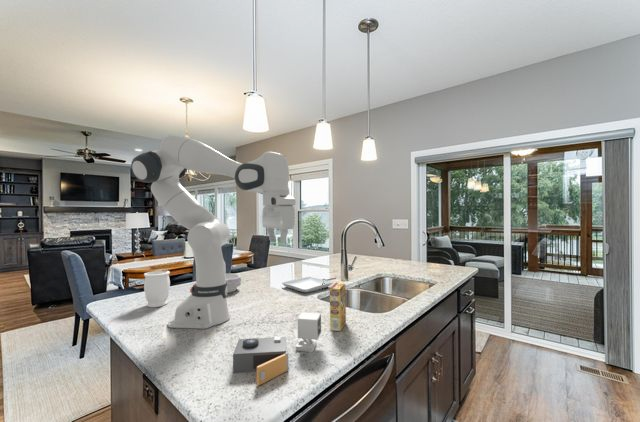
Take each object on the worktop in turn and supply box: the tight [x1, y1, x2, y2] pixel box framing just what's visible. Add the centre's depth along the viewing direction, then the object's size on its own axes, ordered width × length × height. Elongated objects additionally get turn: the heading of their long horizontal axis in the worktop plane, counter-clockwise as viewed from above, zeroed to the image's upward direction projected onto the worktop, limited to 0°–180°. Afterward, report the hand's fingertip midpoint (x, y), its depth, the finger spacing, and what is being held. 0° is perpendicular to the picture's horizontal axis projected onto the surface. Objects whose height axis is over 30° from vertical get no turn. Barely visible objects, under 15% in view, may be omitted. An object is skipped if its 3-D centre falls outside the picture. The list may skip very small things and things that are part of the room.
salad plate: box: [281, 276, 334, 294], centre depth 162 cm, size 21×21×3 cm
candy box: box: [329, 282, 347, 332], centre depth 107 cm, size 9×4×15 cm, turn 162°
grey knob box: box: [232, 336, 287, 374], centre depth 82 cm, size 14×9×6 cm, turn 96°
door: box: [256, 351, 289, 387], centre depth 75 cm, size 10×2×5 cm, turn 136°
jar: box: [143, 270, 171, 308], centre depth 134 cm, size 11×10×15 cm
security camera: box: [295, 312, 322, 353], centre depth 91 cm, size 6×7×10 cm
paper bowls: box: [226, 273, 242, 294], centre depth 157 cm, size 15×15×8 cm
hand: (277, 241), depth 97 cm, fingers open, 8 cm apart
